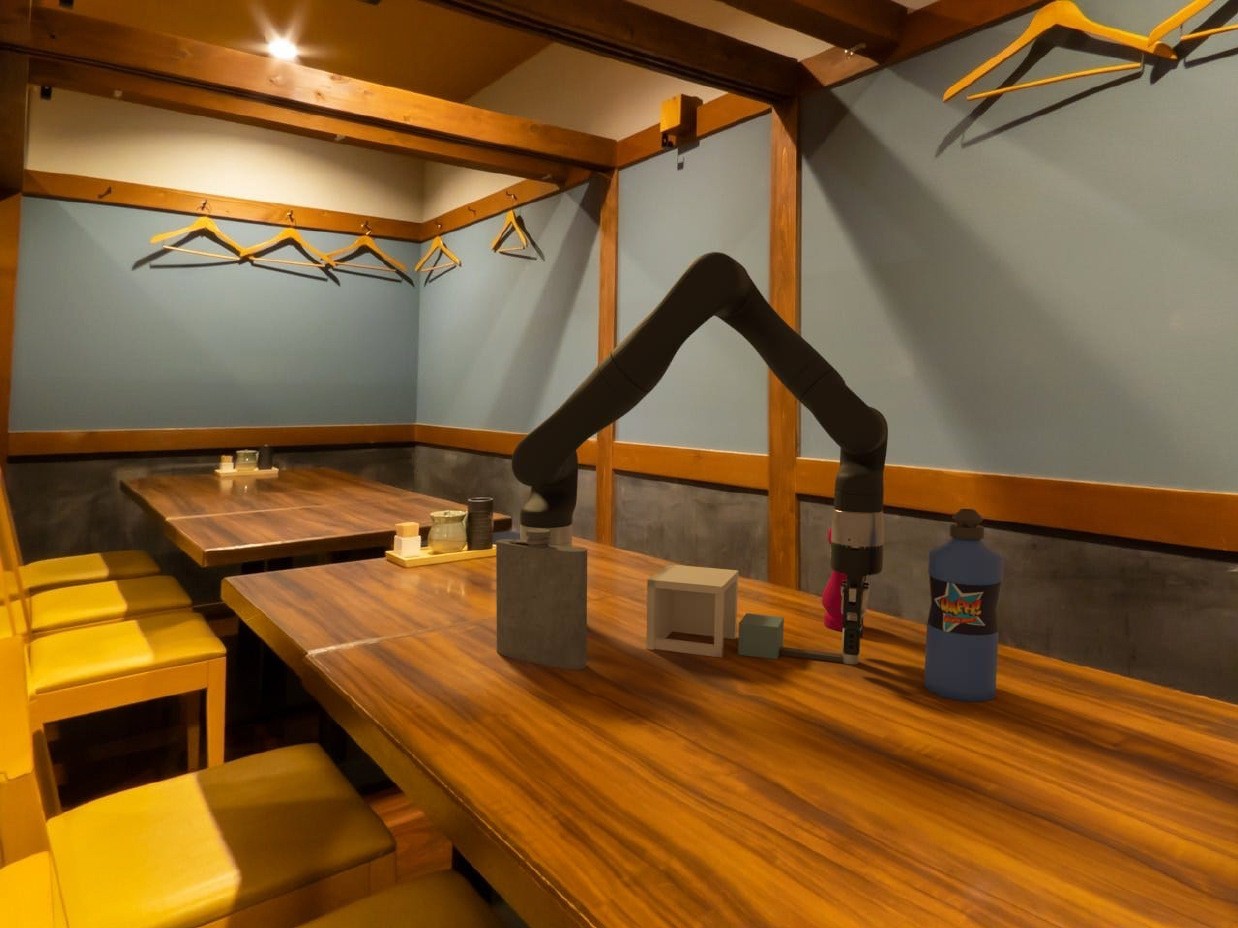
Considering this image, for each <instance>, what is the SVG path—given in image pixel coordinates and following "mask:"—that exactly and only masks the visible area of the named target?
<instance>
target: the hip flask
mask: <svg viewBox="0 0 1238 928" xmlns="http://www.w3.org/2000/svg"><path fill="white" fill-rule="evenodd" d="M526 536H528V537H529V539H527V540H521V539H519V538H517V539H512V538H510V539H509V538H507V539H506V538H504V539H503V538H502V539H498V540H496V542H495V548H496V549H495V552H496V553H495V554H496V557H495V558H496V560H495V561H496V562H495V564H496V565H495V568H496V569H495V570H496V571H495V572H496V575H495V576H496V577H495V578H496V580H495V581H496V583H495V584H496V585H495V586H496V592H495V593H496V596H495V597H496V654H498V655H501V656H504V657H507V658H510V659H515V660H518V661H522V662H527V663H530V664H531V663H532V664H536V665H541V666H547V667H550V668H557V669H566V670H575V671H579V670H583V669H585V668H587V663H588V662H587V661H588V660H587V657H588V655H587V653H588V652H587V649H588V648H587V645H588V636H587V635H588V628H587V627H588V549H587V548H586V547H578V546H576V547H575V546H572V547H566V546H555V545H548V543H549V538H547V536H550V530H549V529H542V528H535V529H528V530H526Z"/></svg>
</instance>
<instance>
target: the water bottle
mask: <svg viewBox="0 0 1238 928" xmlns="http://www.w3.org/2000/svg"><path fill="white" fill-rule="evenodd" d="M951 518H952V519H953V520H954V522H955V523H952V524H950V525H949V529H950V530H949V537H951V538H950V539H949V540H948V541H947V542H946V543H943V544H939V545H937V546H936V547H933V548H930V549H929V550H928V560H927V561H928V564H927V574H928V578H929V589H930V608H929V612H928V616H927V617H928V618H927V622H926V636H925V651H924V652H925V653H924V654H925V655H924V657H925V658H924V676H923V677H924V679H923V685H924V688H925V689H926V690H928V691H929V692H930V693H932V694H934V695H937V696H939V697H941V698H942V697H943V698H944V699H945V698H946V699H949V700H954V701H958V702H959V701H960V702H970V703H972V702H973V703H977V702H978V703H980V702H981V703H982V702H987V701H991V700H993V699H994V698H995V697H996V691H997V690H996V689H997V687H996V686H997V673H998V672H997V669H998V655H999V654H998V652H999V649H998V648H999V626H998V616H997V607H998V601H999V596H1000V590H1001V585H1002V582H1003V581H1004V563H1005V562H1004V561H1005V556H1004V555H1003V554H1001V553H1000V552H997V551H996V550H994V549H992V548H991V547H989V546H987V545H986V544H985V543H984V542H983V541H982V540H983V539H984V537H985V536H984V535H985V527H984V526H983V525H980V524H981V523H982V522H983V520H984V518H983V517H982V516H981V515H980V514H979V512H977V510H976V509H974V508H973V509H972V508H960V509H959V510H958V511H957V512H955V514H953V516H951Z"/></svg>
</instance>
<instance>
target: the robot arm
mask: <svg viewBox="0 0 1238 928" xmlns="http://www.w3.org/2000/svg"><path fill="white" fill-rule="evenodd" d="M712 317H716V318H718V319H719V320H721V321H722V322H724V323H726V324H727V325H728V326H730V327H731V328H732V329H733V330H734V331H736V332H737V333H738V334H740V335H741V336H742V337H743V338H744V339H745V340H746V342H748V343H749V344H750V345H751V346H752V348H754V349H755V351H756V352H757V353H758V355H759V356H760V358H761V359H763V362H764V363H765V364H766V365H767V367H768V368H769V369H770V371H771V372H772V373H773V374H774V376H775V377H776V378H777V380H779V382H780V383H781V384H782V385H783V386H784V387H785V388H786V389H787V390H788V391H789V392H790V394H791V395H793V396H794V397H795V398H796V399H797V400H798V401H799V402H800V403H801V405H803V407H805V408H806V409H807V410H808V411H809V412H810V413H811V414H812V415H813V417H814V418H815V420H816V421H817V422H818V423H819V424H820V426H821V427H822V428H823V430H824V431H825V432H826V434H827V435H828V436H829V437H830V439H832V441H833V442H834V443H835V444H836V445H837V446H838V447H840V449H839V451H840V452H839V470H838V472H837V474H836V477H835V482H834V493H833V495H834V496H833V500H834V501H833V513H832V514H833V515H832V519H831V527H832V530H831V545H830V550H831V552H830V553H831V557H830V560H829V561H830V563H829V567H830V568H831V571H832V570H834V571H836V572H839V573H844V574H846V575H847V581H846V580H843V582H842V584H841V596H842V604H841V612H842V614H843V622H842V626H843V629H844V653H845V654H847V655H855V656H857V655H858V656H859V654H860V649H861V648H860V647H861V646H860V645H861V640H862V638H863V635H864V632H863V631H864V617H865V616H866V612H867V606H868V602H869V601H868V600H869V595H870V589H871V588H870V585H871V583H870V582H868V581H867V576H876V575H879V574H881V572H882V571H883V570H884V569H883V566H884V565H883V563H884V540H885V521H884V493H885V492H884V491H885V490H884V489H885V487H884V484H885V483H884V472H885V465H886V456H887V451H888V440H889V426H888V421H887V419H886V418H885V416H884V414H883V413H882V412H881V411H879V410H878V409H876V408H875V407H872V406H869V405H868V404H866V402H864V400H862V399H861V398H860V397H859V396H858V395H857V394H856V393H855V392H854V391H853V390H852V389H851V388H850V387H849V386H848V385H847V384H846V381H845V379H844V378H843V377H842V375H841V374H840V373H839V372H838V371H837V370H836V368H834V367H833V366H832V364H830V363H829V362H828V361H827V360H826V358H824V357H823V356H822V355H821V354H820V353H819V351H817V350H816V348H814V346H812V345H811V344H810V343H809V342H808V341H807V340H805V338H803V337H802V336H801V335H800V334H799V333H798V332H796V331H795V330H794V329H793V328H792V326H790V325H789V324H788V323H787V322H786V321H785V320H784V319H782V316H780V314H778V313H777V312H776V310H775V309H774V308H773V307H772V306H771V304H769V302H768V301H767V300H766V298H765V296H764V295H763V294H762V293H761V291H760V289H758V287H757V285H756V283H755V282H754V281H753V279H752V278H751V276H750V275H749V273H748V271H747V269H746V268H745V267H744V266H743V265H742V264H741V263H740V262H739V261H737V260H736V259H734V258H733V257H731V256H730V255H728V254H726V253H723V252H719V251H712V252H708V253H704V254H702V255H699V256H698V257H697V258H696V259H695V260H694V261H692V262H691V263H690V264H689V265H688V267H686V269H684V271H683V272H682V274H681V275H680V276H679V278H678V279H677V280H676V281H675V283H674V284H673V285H672V287H671V288H670V289H669V291H667V293H666V294H665V295H664V297H663V298H662V299H661V301H660V302H659V303H658V304H657V305H656V306H655V308H654V309H653V310H652V311H651V312H650V313H649V314H648V315H647V316H646V317H645V318H644V319H643V320H642V321H640V323H638V325H636V327H635V328H634V329H633V330H632V331H631V332H630V333H628V335H626V337H625V338H624V339H623V340H622V341H621V342H620V343H619V344H618V345H617V346H616V347H614V348H613V349H612V350H611V351H610V352H609V354H607V356H606V357H604V359H603V360H602V361H600V363H599V364H598V365H597V366H596V367H595V368H594V369H593V370H592V371H591V372H590V374H589V375H588V376H587V377H586V378H584V380H583V382H582V383H580V384H579V385H578V386H577V388H575V390H574V391H573V392H572V393H571V395H569V396H568V397H567V399H566V400H565V401H564V402H562V404H561V405H560V407H558V408H557V410H555V411H554V412H553V413H552V414H551V415H550V416H549V417H547V418H546V419H545V420H544V421H543V422H541V423H540V424H539V425H537V427H535V428H534V429H533V430H532V431H530V432H529V433H528V434H527V435H525V436H524V437H523V438H522V439H521V440H520V441H519V442H518V444H517V445H516V447H515V448H514V451H513V453H512V456H511V457H512V458H511V470H512V473H513V475H514V477H515V479H516V480H517V481H518V482H519V483H521V484H522V485H523V486H527V487H530V494H529V497H528V499H527V500H526V503H525V504H524V505H523V506H522V508H521V509H520V514H519V515H520V516H519V517H520V518H519V519H520V525H519V527H520V528H519V530H520V531H519V532H520V533H519V535H520V537H519V538H520V539H521V540H527V539H529V537H528V536H526V530H528V529H535V528H542V529H549V530H550V536H547V538H549V543H548V545H555V546H566V547H573V514H574V512H575V509H576V506H577V500H578V483H579V481H578V480H579V479H578V478H579V460H578V459H579V458H578V452H577V450H578V449H579V448H580V447H581V446H582V445H583V444H584V443H586V441H587V440H589V439H590V438H592V437H593V436H594V435H596V434H597V433H599V432H600V431H602V430H604V429H606V428H607V427H609V426H610V425H612V424H613V423H615V422H616V421H619V420H620V419H621V418H622V417H624V416H625V415H626V414H628V413H629V412H631V411H632V410H633V409H634V408H635V407H636V406H637V405H639V404H640V403H641V401H642V400H644V399H645V397H646V396H648V395H649V394H650V392H651V391H653V390H654V388H655V387H657V385H658V384H659V383H660V382H661V380H662V378H663V377H664V376H665V374H666V372H667V370H668V369H669V367H670V366H671V364H672V362H673V360H674V358H675V357H676V354H677V353H678V352H679V350H680V348H681V347H682V346H683V345H684V343H685V342H686V341H687V340H688V339H689V338H690V336H692V335H693V334H694V333H695V332H696V331H698V329H700V328H701V326H703V325H704V324H705V323H706V322H708V321H709V320H710V319H712ZM849 615H853V616H857V621H852V620H848V616H849Z"/></svg>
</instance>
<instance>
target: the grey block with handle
mask: <svg viewBox="0 0 1238 928" xmlns="http://www.w3.org/2000/svg"><path fill="white" fill-rule="evenodd" d="M784 618H785V617H784V616H777V615H776V616H775V615H767V614H756V613H749V612H747V613H746V614H744V616H743V617H742V619H740V621H739V623H738V649H737V650H738V651H737V652H738V653H737V654H738V655H739V656H746V657H747V656H749V657H756V658H765V659H770V660H771V659H772V660H773V659H774V660H778V658H779V657H780V656H786V657H793V658H794V657H795V658H800V659H801V658H802V659H809V660H810V659H811V660H818V661H827V662H835V663H842V664H845V665H857V664H858V663H859V655H857V656H855V655H847V654H845V653H844V629H843V631H842V639H841V640H842V642H841V653H835V652H828V651H820V650H812V649H811V650H810V649H801V648H794V647H786V646H785V647H784V627H785V626H784V625H785V620H784ZM848 620H852V621H857V616H853V615H849V616H848Z"/></svg>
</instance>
